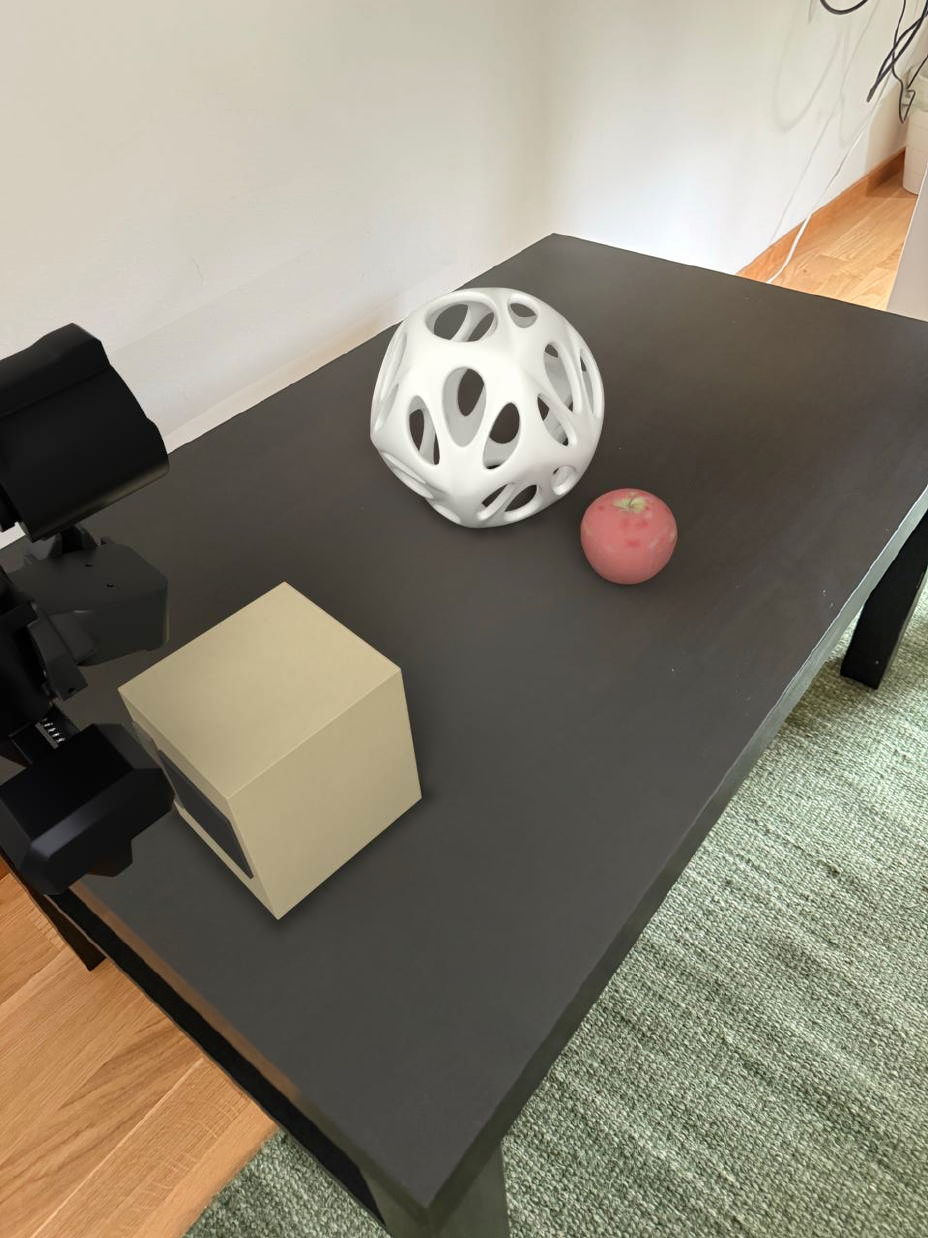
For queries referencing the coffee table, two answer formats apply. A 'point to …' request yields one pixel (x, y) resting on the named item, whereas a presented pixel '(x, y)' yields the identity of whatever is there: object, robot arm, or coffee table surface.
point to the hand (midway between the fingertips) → (76, 811)
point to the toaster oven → (280, 742)
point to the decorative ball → (488, 407)
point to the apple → (628, 535)
